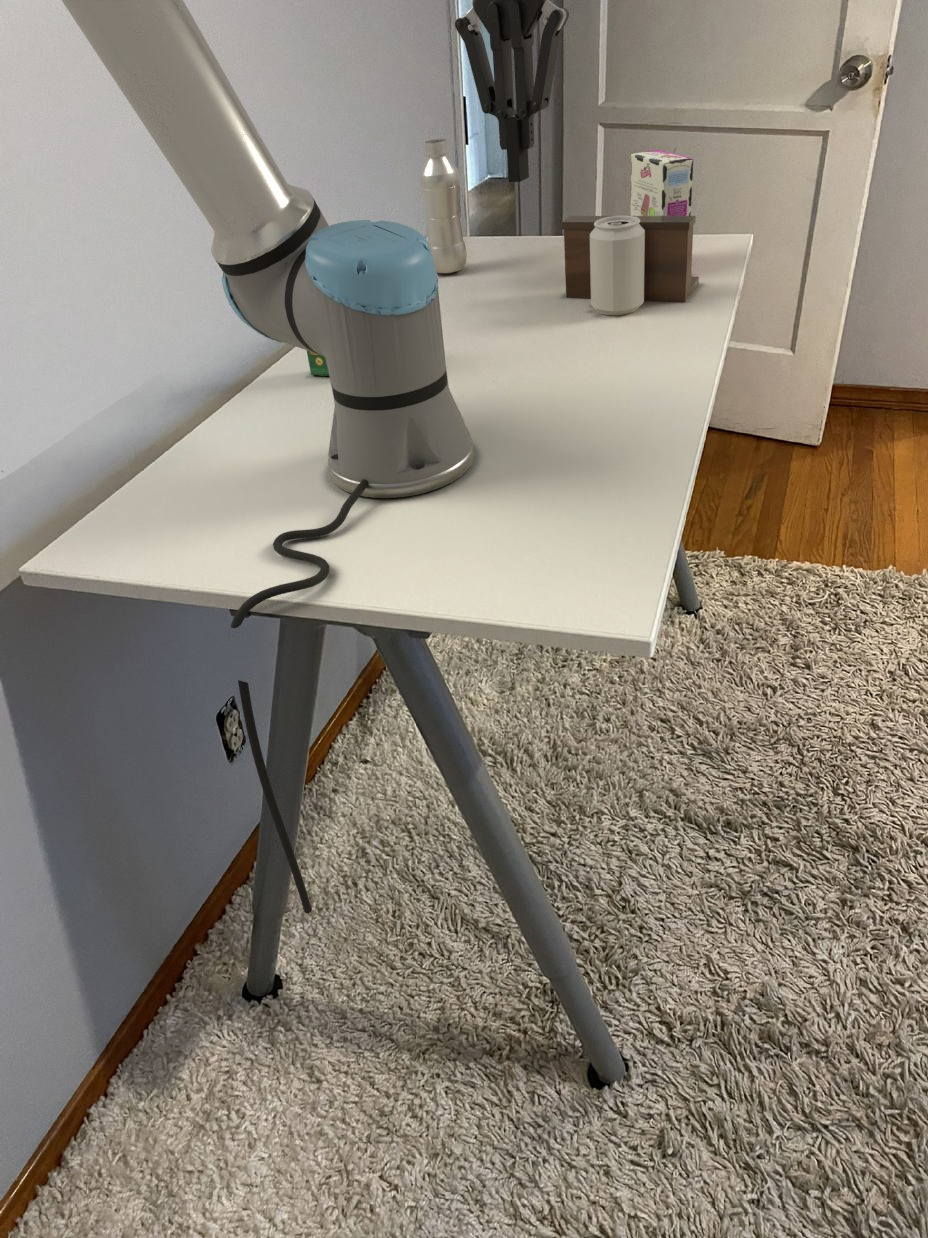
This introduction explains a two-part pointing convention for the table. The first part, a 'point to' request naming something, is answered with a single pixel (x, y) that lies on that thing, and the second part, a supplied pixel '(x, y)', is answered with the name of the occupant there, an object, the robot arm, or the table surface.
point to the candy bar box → (661, 184)
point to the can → (617, 265)
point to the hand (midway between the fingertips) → (518, 179)
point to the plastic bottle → (442, 207)
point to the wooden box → (661, 259)
